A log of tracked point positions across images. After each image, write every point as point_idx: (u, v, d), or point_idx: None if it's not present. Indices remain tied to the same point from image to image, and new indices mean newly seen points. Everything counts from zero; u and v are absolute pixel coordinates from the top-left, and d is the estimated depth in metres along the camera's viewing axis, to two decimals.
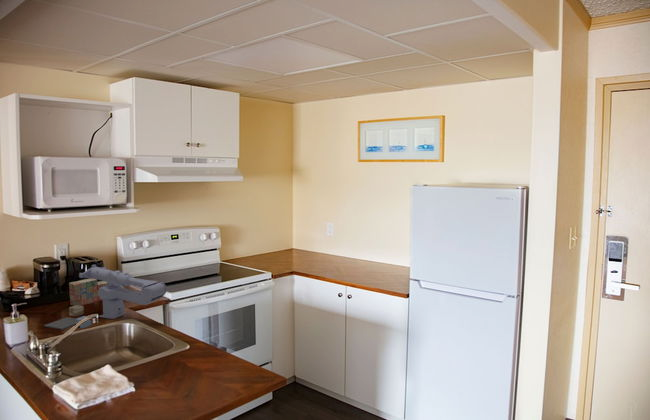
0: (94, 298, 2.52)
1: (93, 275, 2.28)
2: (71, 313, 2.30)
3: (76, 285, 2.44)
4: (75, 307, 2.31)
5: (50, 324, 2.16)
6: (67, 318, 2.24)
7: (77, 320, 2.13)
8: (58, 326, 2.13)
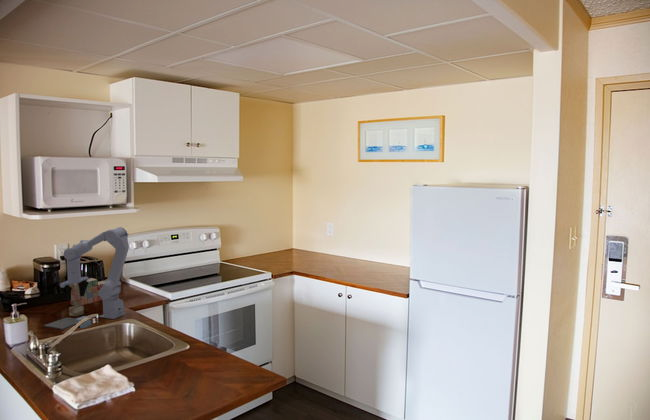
0: (94, 298, 2.53)
1: (69, 276, 2.27)
2: (71, 313, 2.30)
3: (76, 285, 2.45)
4: (75, 307, 2.31)
5: (50, 324, 2.16)
6: (67, 318, 2.24)
7: (77, 320, 2.13)
8: (58, 326, 2.13)
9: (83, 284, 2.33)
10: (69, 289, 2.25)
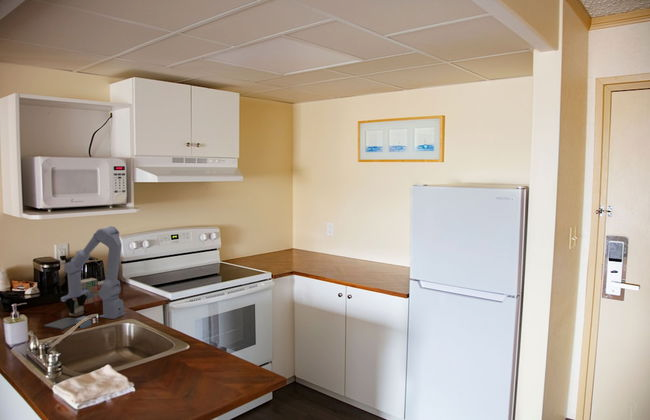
0: (94, 298, 2.53)
1: (70, 290, 2.28)
2: (71, 313, 2.30)
3: None
4: (75, 307, 2.31)
5: (50, 324, 2.16)
6: (67, 318, 2.24)
7: (77, 320, 2.13)
8: (58, 326, 2.13)
9: (82, 298, 2.33)
10: (72, 302, 2.27)
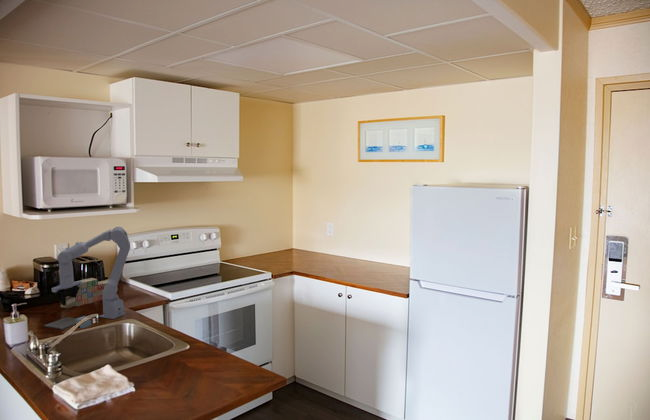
0: (95, 298, 2.53)
1: (61, 280, 2.19)
2: (62, 305, 2.21)
3: None
4: (66, 298, 2.21)
5: (50, 324, 2.16)
6: (67, 318, 2.24)
7: (77, 320, 2.13)
8: (58, 326, 2.13)
9: (74, 289, 2.23)
10: (64, 293, 2.17)
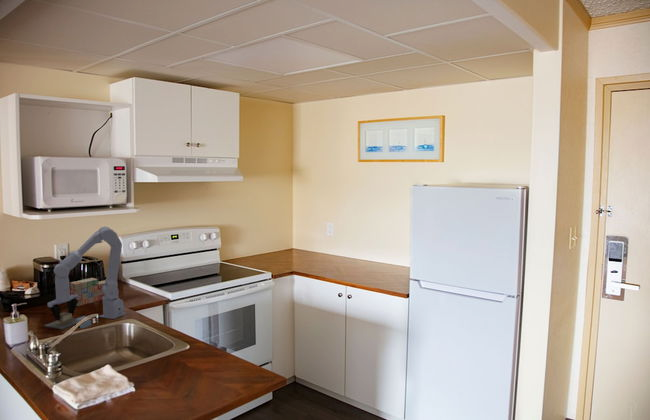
0: (95, 297, 2.53)
1: (58, 295, 2.14)
2: (59, 321, 2.16)
3: (77, 285, 2.45)
4: (63, 314, 2.17)
5: (50, 324, 2.16)
6: None
7: (77, 320, 2.13)
8: (58, 326, 2.13)
9: (72, 303, 2.20)
10: (58, 309, 2.12)
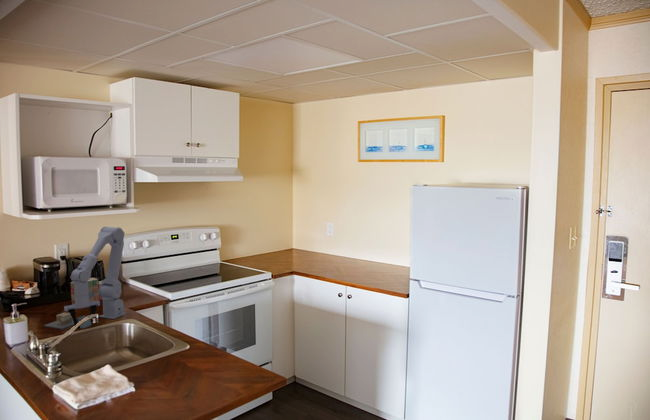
0: (95, 297, 2.54)
1: (75, 299, 2.12)
2: (59, 321, 2.16)
3: None
4: (63, 314, 2.17)
5: (50, 324, 2.16)
6: None
7: (77, 320, 2.13)
8: (58, 326, 2.13)
9: (91, 309, 2.15)
10: (72, 314, 2.09)
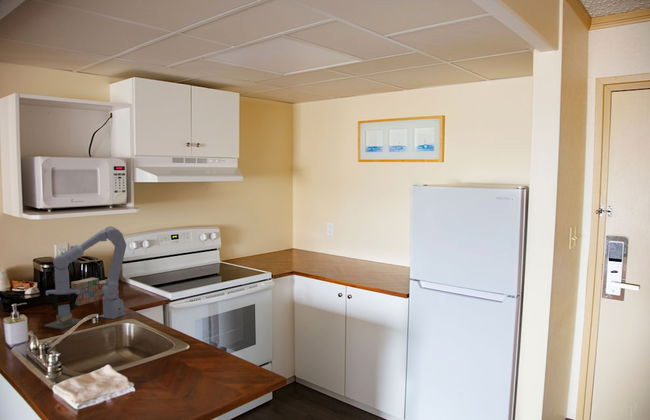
0: (96, 297, 2.54)
1: None
2: (59, 321, 2.16)
3: (78, 284, 2.46)
4: None
5: (50, 324, 2.16)
6: None
7: (58, 307, 2.17)
8: (58, 326, 2.13)
9: None
10: (49, 298, 2.14)
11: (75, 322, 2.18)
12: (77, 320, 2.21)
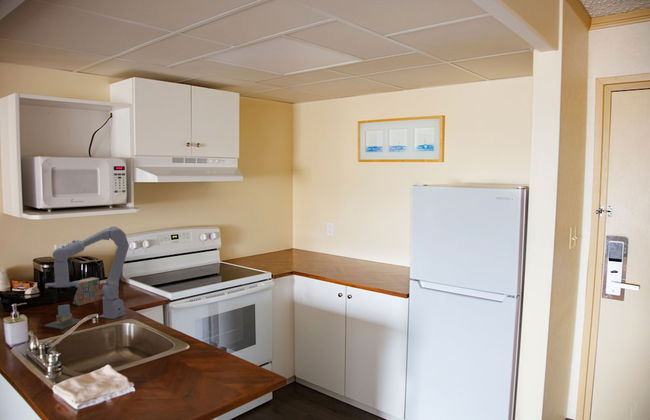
0: (96, 297, 2.55)
1: None
2: (59, 321, 2.16)
3: (79, 284, 2.46)
4: None
5: (50, 324, 2.16)
6: None
7: (58, 307, 2.17)
8: (58, 326, 2.13)
9: None
10: (49, 291, 2.14)
11: (75, 322, 2.18)
12: (77, 320, 2.21)
